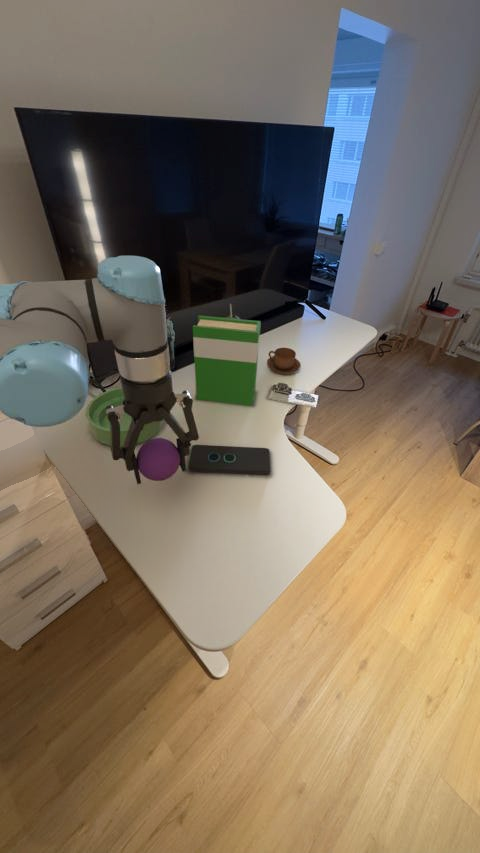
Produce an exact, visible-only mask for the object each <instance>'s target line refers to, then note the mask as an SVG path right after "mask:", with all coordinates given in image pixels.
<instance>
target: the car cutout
mask: <svg viewBox="0 0 480 853" xmlns="http://www.w3.org/2000/svg"><path fill="white" fill-rule="evenodd" d="M318 399H319V394H314V393H309V392H305V391H299V390H293V389H292V387H290V386H289V385H288V384H287V383H284V382H278V383H277V384H272V387H271V391H270V392H269V395H268V400H273V401H278V402H283V403H288V404H293V405H298V406H303V407H308V408H313V409H316V408H317V404H318Z"/></svg>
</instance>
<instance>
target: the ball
mask: <svg viewBox="0 0 480 853" xmlns="http://www.w3.org/2000/svg"><path fill="white" fill-rule="evenodd" d="M136 460H137V464H138V469H139V474H141V475H142V476H143V477H144V478H146V479H148V480H150V481H153V482H154V481H155V482H163V481H166V480H168V479H170V478H172V477H173V476H174V475H175V474H176V473H177V471H178V470H179V467H180V453H179V450H178V448H177V445H176V444H175V443H173V442H172V441H171V440H169V439H166V438H163V437H155V438H154V437H153V438H150V439H148V440H146V441H144V442H143V443H142V445H141V446H140V447H139V449H138V451H137V453H136Z"/></svg>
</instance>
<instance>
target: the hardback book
mask: <svg viewBox="0 0 480 853" xmlns="http://www.w3.org/2000/svg"><path fill="white" fill-rule="evenodd" d="M261 325H262V321H261V320H252V319H250V320H249V319H243V318H242V319H241V318H240V319H231V318H226V317H219V316H209V315H198V316H197V325H195V324H193V326H192V341H193V358H194V359H193V360H194V375H195V376H194V377H195V397H196V400H200V401H209V402H217V403H227V404H235V405H245V406H252V407H253V406H254V401H255V394H256V385H257V374H258V361H259V350H260V339H261V338H260V337H261Z"/></svg>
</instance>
